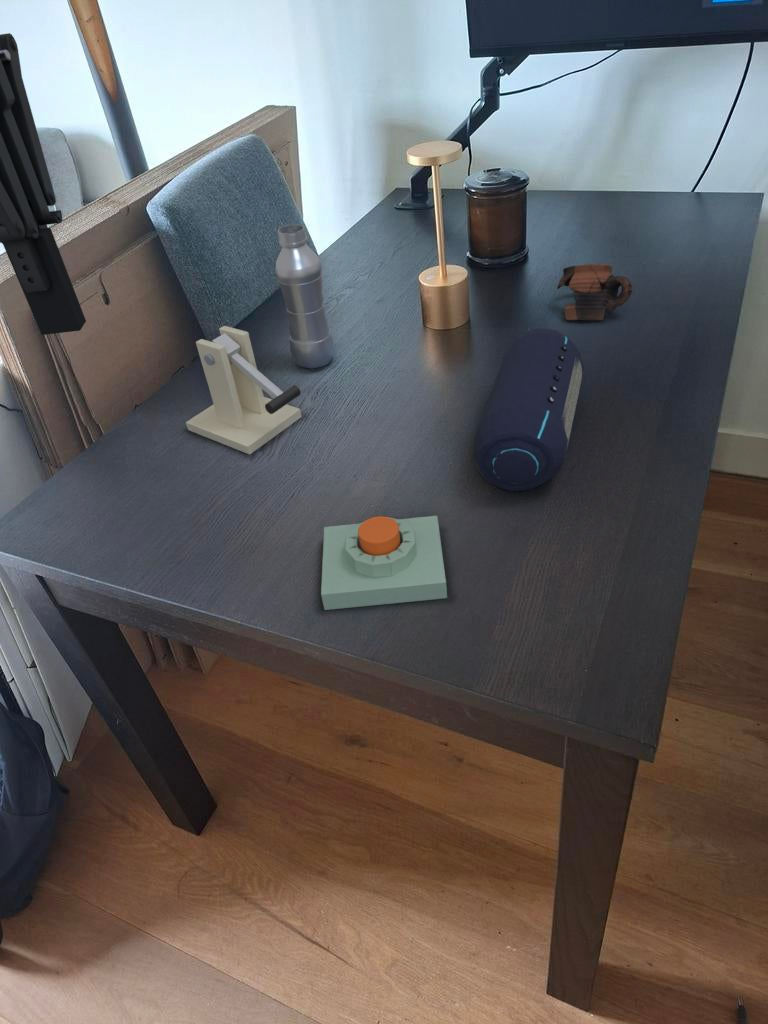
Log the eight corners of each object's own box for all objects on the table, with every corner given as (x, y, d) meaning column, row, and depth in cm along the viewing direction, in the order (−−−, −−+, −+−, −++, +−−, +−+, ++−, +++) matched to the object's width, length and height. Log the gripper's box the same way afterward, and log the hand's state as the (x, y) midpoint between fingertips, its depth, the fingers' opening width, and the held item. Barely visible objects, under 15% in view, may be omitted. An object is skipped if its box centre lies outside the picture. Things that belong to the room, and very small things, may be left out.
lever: (298, 399, 96) (302, 387, 94) (271, 419, 93) (275, 406, 91) (230, 341, 98) (232, 328, 96) (201, 358, 95) (203, 345, 93)
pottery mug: (545, 322, 117) (546, 267, 115) (574, 326, 124) (575, 273, 122) (620, 317, 109) (622, 257, 107) (646, 321, 116) (648, 264, 114)
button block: (324, 610, 74) (317, 581, 71) (327, 542, 82) (321, 513, 79) (447, 598, 73) (445, 568, 71) (438, 531, 81) (436, 502, 79)
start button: (360, 558, 74) (358, 544, 73) (360, 531, 77) (357, 518, 76) (401, 554, 74) (399, 540, 72) (399, 527, 77) (397, 514, 76)
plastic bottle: (312, 349, 117) (287, 218, 105) (346, 358, 114) (325, 223, 101) (284, 367, 113) (256, 234, 101) (319, 377, 110) (293, 240, 97)
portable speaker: (560, 509, 82) (564, 431, 75) (469, 499, 85) (465, 424, 78) (584, 389, 100) (589, 318, 93) (508, 385, 103) (508, 316, 96)
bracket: (302, 417, 102) (284, 329, 94) (249, 455, 96) (225, 365, 88) (240, 395, 108) (218, 312, 100) (188, 430, 103) (160, 344, 95)
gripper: (-102, -123, 32) (91, 367, 47) (6, -119, 43) (138, 284, 57) (-270, -99, 33) (-25, 380, 48) (-123, -101, 43) (41, 295, 58)
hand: (64, 327), depth 52 cm, fingers closed
